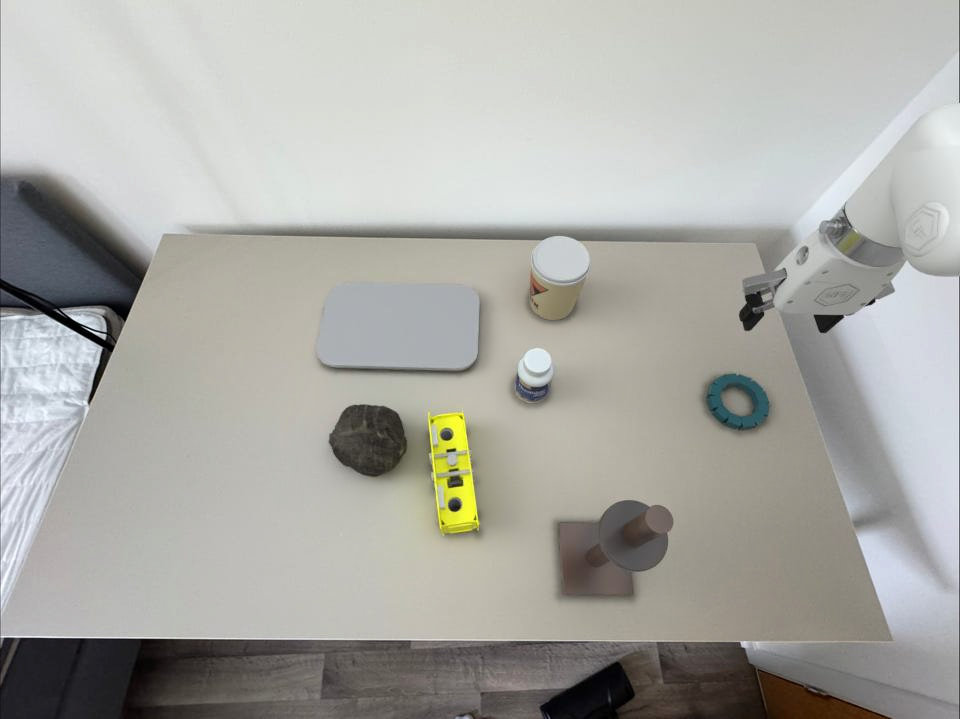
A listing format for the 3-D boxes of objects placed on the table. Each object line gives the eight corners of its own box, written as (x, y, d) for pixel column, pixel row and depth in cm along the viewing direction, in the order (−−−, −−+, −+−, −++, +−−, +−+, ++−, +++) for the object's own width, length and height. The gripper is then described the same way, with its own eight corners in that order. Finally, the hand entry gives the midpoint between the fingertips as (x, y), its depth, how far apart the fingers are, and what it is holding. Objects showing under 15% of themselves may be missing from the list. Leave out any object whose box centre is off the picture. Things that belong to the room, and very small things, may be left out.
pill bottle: (511, 400, 79) (515, 372, 70) (518, 370, 81) (522, 340, 72) (545, 407, 78) (553, 380, 69) (551, 377, 80) (559, 347, 72)
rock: (334, 412, 76) (325, 391, 67) (408, 414, 78) (409, 394, 69) (327, 479, 73) (316, 467, 64) (405, 480, 74) (406, 468, 65)
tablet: (477, 375, 81) (477, 369, 79) (316, 371, 81) (312, 364, 79) (480, 292, 88) (480, 285, 86) (333, 289, 89) (330, 281, 87)
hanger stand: (622, 524, 70) (701, 468, 45) (631, 595, 65) (723, 576, 41) (558, 523, 70) (601, 467, 45) (562, 594, 65) (613, 575, 41)
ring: (768, 390, 79) (773, 386, 78) (758, 438, 76) (764, 435, 74) (713, 370, 81) (717, 365, 80) (700, 416, 77) (705, 412, 76)
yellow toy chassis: (429, 429, 76) (423, 407, 69) (466, 424, 77) (464, 402, 69) (440, 538, 69) (435, 527, 61) (480, 531, 69) (481, 520, 62)
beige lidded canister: (522, 281, 89) (528, 235, 79) (574, 279, 90) (587, 232, 79) (527, 325, 85) (534, 283, 74) (582, 323, 85) (596, 280, 75)
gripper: (795, 258, 49) (720, 345, 64) (974, 263, 49) (857, 349, 64) (776, 202, 52) (710, 297, 68) (942, 206, 52) (838, 301, 67)
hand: (781, 322), depth 66 cm, fingers open, 9 cm apart
